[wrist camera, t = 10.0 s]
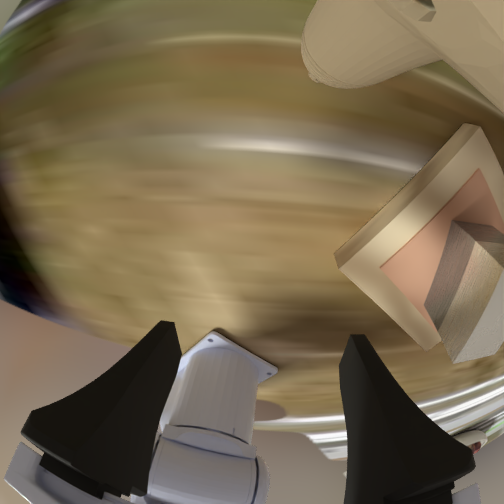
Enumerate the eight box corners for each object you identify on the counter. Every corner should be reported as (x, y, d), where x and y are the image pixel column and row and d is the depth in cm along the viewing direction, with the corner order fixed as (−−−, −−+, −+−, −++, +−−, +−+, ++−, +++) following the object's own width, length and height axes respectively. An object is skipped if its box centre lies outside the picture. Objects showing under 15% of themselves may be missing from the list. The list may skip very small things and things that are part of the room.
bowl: (444, 458, 51) (447, 477, 44) (368, 476, 53) (370, 498, 46) (501, 414, 36) (509, 436, 29) (423, 439, 38) (429, 469, 31)
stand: (419, 337, 22) (426, 353, 20) (333, 253, 19) (339, 270, 17) (517, 245, 16) (530, 256, 14) (463, 122, 13) (482, 126, 11)
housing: (492, 225, 14) (541, 269, 9) (463, 302, 17) (495, 354, 12) (451, 219, 14) (503, 268, 9) (423, 304, 18) (452, 363, 12)
